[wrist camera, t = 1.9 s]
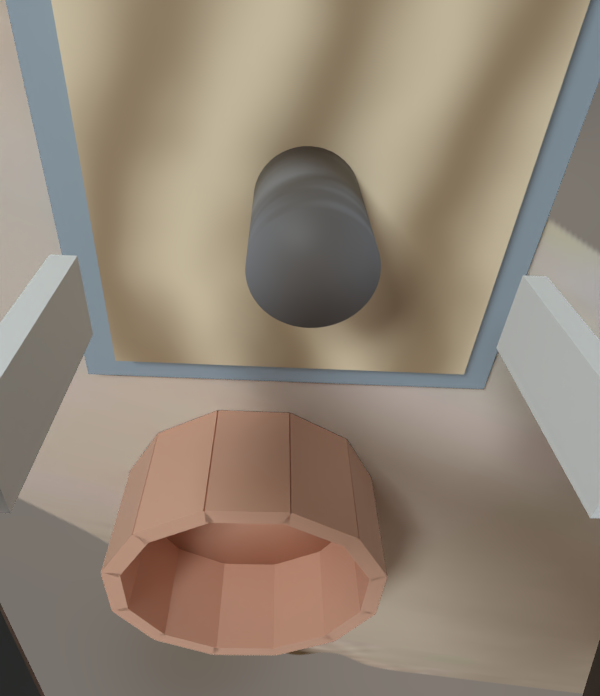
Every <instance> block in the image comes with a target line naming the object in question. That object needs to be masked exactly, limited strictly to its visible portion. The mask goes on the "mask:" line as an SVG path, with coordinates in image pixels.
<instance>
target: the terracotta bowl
mask: <svg viewBox="0 0 600 696" xmlns="http://www.w3.org/2000/svg"><path fill="white" fill-rule="evenodd" d="M101 575H102V579H103V582H104V586H105V589H106V592H107V596H108V600H109V603H110V606H111V610H112V611H113V612H114V613H116V614H117V615H119V616H120V617H122V618H123V619H124V620H126V621H127V622H129V623H130V624H132V625H133V626H135V627H136V628H137V629H139V630H141V631H142V632H143V633H145V634H146V635H148V636H149V637H151V638H152V639H155V640H157V641H161V642H165V643H169V644H173V645H176V646H180V647H184V648H188V649H192V650H196V651H200V652H204V653H208V654H212V655H213V654H214V655H276V654H277V655H280V654H284V653H288V652H292V651H296V650H300V649H305V648H309V647H313V646H317V645H321V644H325V643H329V642H333V641H336V640H337V639H339V638H340V637H342V636H343V635H345V634H346V633H348V632H349V631H351V630H352V629H354V628H355V627H357V626H358V625H360V624H361V623H363V622H364V621H366V620H367V619H369V618H370V617H372V616H373V615H375V614H376V612H377V609H378V605H379V602H380V599H381V596H382V593H383V590H384V587H385V584H386V580H387V572H386V565H385V559H384V553H383V547H382V541H381V534H380V528H379V522H378V516H377V510H376V503H375V497H374V491H373V485H372V479H371V477H370V475H369V473H368V472H367V470H366V469H365V467H364V466H363V464H362V462H361V461H360V459H359V458H358V456H357V454H356V453H355V451H354V450H353V448H352V447H351V445H350V443H349V442H348V440H346V439H345V438H343V437H341V436H339V435H336V434H334V433H332V432H330V431H328V430H326V429H324V428H321V427H319V426H317V425H315V424H313V423H311V422H309V421H306V420H304V419H302V418H300V417H298V416H296V415H293V414H291V413H290V414H289V413H280V412H251V411H222V410H219V411H215V412H212V413H210V414H207V415H204V416H202V417H199V418H197V419H194V420H191V421H189V422H186V423H184V424H181V425H178V426H176V427H173V428H171V429H168V430H165V431H163V432H160V433H158V434H157V435H156V437H155V438H154V439H153V441H152V442H151V443H150V445H149V446H148V448H147V449H146V450H145V452H144V453H143V454H142V456H141V457H140V458H139V460H138V461H137V463H136V464H135V465H134V467H133V468H132V469H131V471H130V473H129V477H128V480H127V484H126V487H125V491H124V494H123V498H122V501H121V505H120V508H119V511H118V515H117V518H116V522H115V525H114V529H113V532H112V536H111V539H110V543H109V546H108V550H107V553H106V557H105V560H104V564H103V567H102V571H101Z"/></svg>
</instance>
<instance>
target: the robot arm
mask: <svg viewBox="0 0 600 696" xmlns="http://www.w3.org/2000/svg"><path fill="white" fill-rule="evenodd" d="M92 336H93V332H92V327H91V322H90V317H89V312H88V307H87V302H86V297H85V292H84V287H83V282H82V276H81V271H80V266H79V261H78V256H73V255H51V254H50V255H49V256H48V257H47V259H46V260H45V262H44V263H43V264H42V266H41V267H40V268H39V270H38V271H37V273H36V274H35V275H34V277H33V278H32V280H31V281H30V282H29V284H28V285H27V286H26V288H25V289H24V291H23V292H22V293H21V295H20V296H19V298H18V299H17V300H16V302H15V303H14V304H13V306H12V307H11V309H10V310H9V311H8V313H7V314H6V316H5V317H4V318H3V320H2V321H1V323H0V513H10V512H11V511H12V508H13V506H14V504H15V502H16V500H17V498H18V495H19V493H20V491H21V489H22V487H23V485H24V483H25V480H26V478H27V476H28V474H29V472H30V470H31V467H32V465H33V463H34V461H35V459H36V457H37V454H38V452H39V450H40V448H41V446H42V444H43V441H44V439H45V437H46V435H47V433H48V431H49V428H50V426H51V424H52V422H53V420H54V418H55V415H56V413H57V411H58V409H59V407H60V405H61V403H62V400H63V398H64V396H65V394H66V392H67V390H68V387H69V385H70V383H71V381H72V379H73V377H74V374H75V372H76V370H77V368H78V366H79V364H80V361H81V359H82V357H83V355H84V353H85V351H86V348H87V346H88V344H89V342H90V340H91V338H92ZM496 348H497V350H498V352H499V354H500V356H501V357H502V359H503V361H504V363H505V365H506V367H507V368H508V370H509V372H510V374H511V376H512V377H513V379H514V381H515V383H516V385H517V386H518V388H519V390H520V392H521V394H522V396H523V397H524V399H525V401H526V403H527V405H528V406H529V408H530V410H531V412H532V414H533V415H534V417H535V419H536V421H537V423H538V425H539V426H540V428H541V430H542V432H543V434H544V435H545V437H546V439H547V441H548V443H549V444H550V446H551V448H552V450H553V452H554V454H555V455H556V457H557V459H558V461H559V463H560V464H561V466H562V468H563V470H564V472H565V473H566V475H567V477H568V479H569V481H570V483H571V484H572V486H573V488H574V490H575V492H576V493H577V495H578V497H579V499H580V501H581V502H582V504H583V506H584V508H585V510H586V512H587V513H588V515H589V517H590V518H600V340H599V339H598V338H597V336H596V335H595V334H594V333H593V332H592V330H591V329H590V328H589V327H588V326H587V324H586V323H585V322H584V321H583V319H582V318H581V317H580V316H579V315H578V313H577V312H576V311H575V310H574V309H573V307H572V306H571V305H570V304H569V302H568V301H567V300H566V299H565V298H564V296H563V295H562V294H561V293H560V292H559V290H558V289H557V288H556V287H555V285H554V284H553V283H552V282H551V281H550V279H549V278H548V277H547V276H526V275H523V276H522V279H521V282H520V284H519V287H518V290H517V292H516V295H515V298H514V301H513V303H512V306H511V309H510V312H509V314H508V317H507V320H506V323H505V325H504V328H503V331H502V334H501V336H500V339H499V342H498V345H497V347H496ZM0 696H45V695H44V693H43V692H42V689H41V687H40V685H39V683H38V681H37V679H36V677H35V675H34V672H33V670H32V668H31V666H30V664H29V662H28V660H27V658H26V656H25V654H24V652H23V650H22V648H21V645H20V643H19V641H18V639H17V637H16V635H15V633H14V631H13V629H12V627H11V625H10V622H9V621H8V618H7V616H6V614H5V612H4V610H3V608H2V606H1V604H0ZM583 696H600V641H599V644H598V647H597V650H596V654H595V657H594V660H593V663H592V667H591V670H590V673H589V676H588V680H587V683H586V686H585V689H584V693H583Z"/></svg>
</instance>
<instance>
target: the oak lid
mask: <svg viewBox="0 0 600 696" xmlns="http://www.w3.org/2000/svg"><path fill="white" fill-rule="evenodd" d="M51 3H52V9H53V14H54V20H55V25H56V31H57V37H58V42H59V48H60V53H61V59H62V65H63V70H64V76H65V81H66V87H67V93H68V98H69V104H70V109H71V115H72V121H73V126H74V132H75V137H76V143H77V149H78V154H79V160H80V165H81V171H82V177H83V182H84V188H85V193H86V199H87V205H88V210H89V216H90V221H91V227H92V232H93V238H94V244H95V249H96V255H97V260H98V266H99V272H100V277H101V283H102V288H103V294H104V300H105V305H106V311H107V316H108V322H109V328H110V333H111V339H112V344H113V350H114V356H115V361H134V362H159V363H185V364H210V365H235V366H261V367H286V368H311V369H336V370H362V371H387V372H412V373H437V374H463V375H464V373H465V370H466V367H467V364H468V361H469V358H470V355H471V352H472V349H473V346H474V343H475V340H476V337H477V334H478V331H479V328H480V325H481V322H482V319H483V316H484V313H485V311H486V308H487V305H488V302H489V299H490V296H491V293H492V290H493V287H494V284H495V281H496V278H497V275H498V272H499V269H500V266H501V263H502V260H503V257H504V254H505V251H506V248H507V245H508V242H509V239H510V237H511V234H512V231H513V228H514V225H515V222H516V219H517V216H518V213H519V210H520V207H521V204H522V201H523V198H524V195H525V192H526V189H527V186H528V183H529V180H530V177H531V174H532V171H533V168H534V166H535V163H536V160H537V157H538V154H539V151H540V148H541V145H542V142H543V139H544V136H545V133H546V130H547V127H548V124H549V121H550V118H551V115H552V112H553V109H554V106H555V103H556V100H557V97H558V94H559V92H560V89H561V86H562V83H563V80H564V77H565V74H566V71H567V68H568V65H569V62H570V59H571V56H572V53H573V50H574V47H575V44H576V41H577V38H578V35H579V32H580V29H581V26H582V23H583V20H584V18H585V15H586V12H587V9H588V6H589V3H590V0H51Z"/></svg>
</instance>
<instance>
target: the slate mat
mask: <svg viewBox="0 0 600 696" xmlns="http://www.w3.org/2000/svg"><path fill="white" fill-rule="evenodd" d="M6 5H7V9H8V14H9V18H10V23H11V27H12V32H13V36H14V41H15V45H16V50H17V54H18V59H19V63H20V68H21V72H22V77H23V81H24V86H25V90H26V95H27V99H28V104H29V108H30V113H31V117H32V122H33V126H34V131H35V135H36V140H37V144H38V149H39V153H40V158H41V162H42V167H43V171H44V176H45V180H46V185H47V189H48V194H49V198H50V203H51V207H52V212H53V216H54V221H55V225H56V230H57V234H58V239H59V243H60V248H61V252H62V255H73V256H78V261H79V266H80V271H81V276H82V282H83V287H84V292H85V297H86V302H87V307H88V312H89V317H90V322H91V327H92V332H93V336H92V338H91V340H90V342H89V344H88V346H87V348H86V351H85V353H84V356H85V360H86V365H87V369H88V374H102V375H129V376H155V377H181V378H208V379H234V380H260V381H287V382H313V383H339V384H366V385H392V386H418V387H445V388H471V389H484V387H485V384H486V381H487V379H488V376H489V373H490V371H491V368H492V365H493V363H494V360H495V357H496V355H497V352H498V350H497V348H496V347H497V345H498V342H499V339H500V336H501V334H502V331H503V328H504V325H505V323H506V320H507V317H508V314H509V312H510V309H511V306H512V303H513V301H514V298H515V295H516V292H517V290H518V287H519V284H520V282H521V279H522V276H523V275H527V272H528V269H529V267H530V264H531V261H532V259H533V256H534V253H535V251H536V248H537V245H538V243H539V240H540V237H541V235H542V232H543V229H544V227H545V224H546V221H547V219H548V216H549V213H550V211H551V208H552V205H553V202H554V200H555V197H556V195H557V192H558V189H559V187H560V184H561V181H562V179H563V176H564V173H565V171H566V168H567V165H568V163H569V160H570V157H571V155H572V152H573V149H574V147H575V144H576V141H577V139H578V136H579V133H580V130H581V128H582V125H583V123H584V120H585V118H586V115H587V112H588V109H589V107H590V104H591V102H592V99H593V96H594V94H595V90H596V88H597V85H598V83H599V80H600V0H590V3H589V6H588V9H587V12H586V15H585V18H584V20H583V23H582V26H581V29H580V32H579V35H578V38H577V41H576V44H575V47H574V50H573V53H572V56H571V59H570V62H569V65H568V68H567V71H566V74H565V77H564V80H563V83H562V86H561V89H560V92H559V94H558V97H557V100H556V103H555V106H554V109H553V112H552V115H551V118H550V121H549V124H548V127H547V130H546V133H545V136H544V139H543V142H542V145H541V148H540V151H539V154H538V157H537V160H536V163H535V166H534V168H533V171H532V174H531V177H530V180H529V183H528V186H527V189H526V192H525V195H524V198H523V201H522V204H521V207H520V210H519V213H518V216H517V219H516V222H515V225H514V228H513V231H512V234H511V237H510V239H509V242H508V245H507V248H506V251H505V254H504V257H503V260H502V263H501V266H500V269H499V272H498V275H497V278H496V281H495V284H494V287H493V290H492V293H491V296H490V299H489V302H488V305H487V308H486V311H485V313H484V316H483V319H482V322H481V325H480V328H479V331H478V334H477V337H476V340H475V343H474V346H473V349H472V352H471V355H470V358H469V361H468V364H467V367H466V370H465V373H464V375H463V374H437V373H412V372H387V371H362V370H336V369H311V368H286V367H261V366H235V365H210V364H185V363H159V362H134V361H115V356H114V350H113V344H112V339H111V333H110V328H109V322H108V316H107V311H106V305H105V300H104V294H103V288H102V283H101V277H100V272H99V266H98V260H97V255H96V249H95V244H94V238H93V232H92V227H91V221H90V216H89V210H88V205H87V199H86V193H85V188H84V182H83V177H82V171H81V165H80V160H79V154H78V149H77V143H76V137H75V132H74V126H73V121H72V115H71V109H70V104H69V98H68V93H67V87H66V81H65V76H64V70H63V65H62V59H61V53H60V48H59V42H58V37H57V31H56V25H55V20H54V14H53V9H52V3H51V0H6Z"/></svg>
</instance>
